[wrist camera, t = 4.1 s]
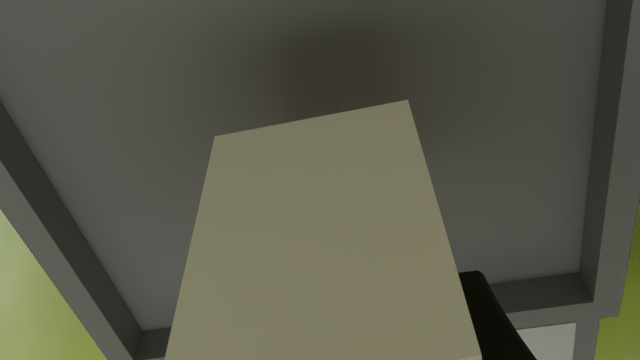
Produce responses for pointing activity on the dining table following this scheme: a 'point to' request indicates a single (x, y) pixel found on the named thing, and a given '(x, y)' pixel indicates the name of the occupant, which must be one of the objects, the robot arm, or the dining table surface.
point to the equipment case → (314, 101)
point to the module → (321, 248)
